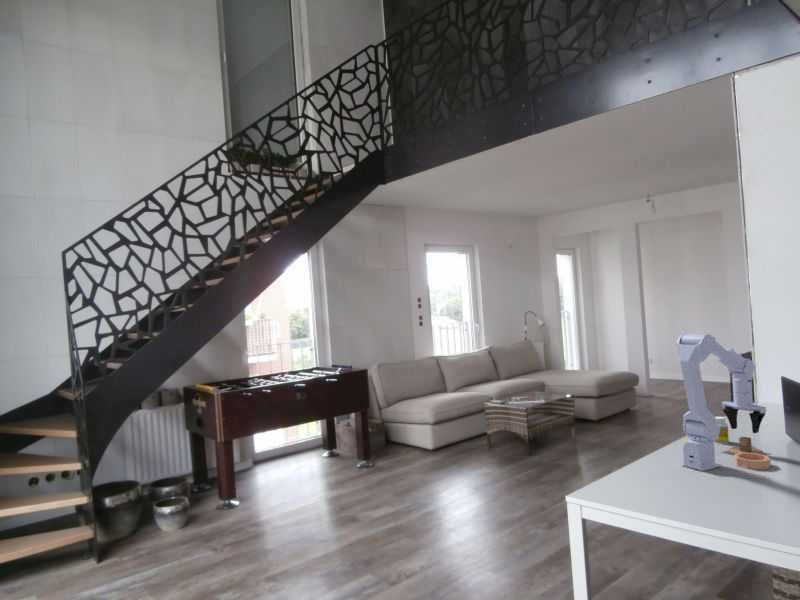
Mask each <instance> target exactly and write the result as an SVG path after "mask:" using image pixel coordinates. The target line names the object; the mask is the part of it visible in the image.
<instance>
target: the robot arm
mask: <svg viewBox="0 0 800 600" xmlns="http://www.w3.org/2000/svg"><path fill="white" fill-rule="evenodd" d="M676 346H677V353H678V356H679V357H678V358H679V363H680V369H681V373H682V379H683V384H684V390H685V395H686V400H687V405H688V411H687V412H686V413H685V414H683V416H682V418H683V419H682V420H683V423H682V429H683V432H684V434H686V438H687V439H688V441H687V442H685V443H684V445H683V448H682V449H683V450H682V451H683V463H681V466H684V467H687V468H691V469H694V470H698V471H700V472H701V471H702V472H705V471H708V470H712V469H715V468H719V467H721V466H722V464H720V463H717V462H716V453H715V452H716V451H715V443H714V440H716V439H717V438H718V436H719V433H720V428H719V425H718V423H717V422H716V418H715V417H716V416H715V415H714V414H713V413H712V412H711V411H710V410H709V409H708V406H707V405H708V404H707V400H706V396H705V389H704V384H703V378H702V373H701V368H700V364H701V363H702V362H704V361H706V359H708V357H709V356H710V355H711V354H712V355H714V356H715V357H717V360H718V362H719V363H720V364H722V365H724V366H725V367H726V368H727V369H728V373H730V374H732V375H731V376H732V391H733V393H732V395H733V401H721V406H722V408H723V409H722V410H723V411H722V412H723V413H724V414H725V416H726V417H727V420H728V421H729V425H730V427H731V428H730V429H731V430H734V429H737V428H738V413H739V410H741V411H748V412H749V416H750V417H749V418H750V420H751V421H750V422H751V429H752V434H758V433H759V431H760V426H761V423H762V421H763V419H764V418H765V416H766V413H767V406H763V405H762V406H761V405H757V404H754V401H753V386H752V385H753V384H752V381H753V379H754V372H755V369H756V366H755V363H754V362H753V360H751V358H745V357H743V356H742V355H741V354H739V353H737V352H736V351H735V349H734V348H729V347H728V348H725V347H724V346H722V345H721V344H720V343H719V342H717V340H716V337H715V336H712V334H708V333H706V334H703V333H702V334H701V333H700V334H699V333H686V332H685V333H683V334H680V336H679V338H678V339H677V341H676Z"/></svg>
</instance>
